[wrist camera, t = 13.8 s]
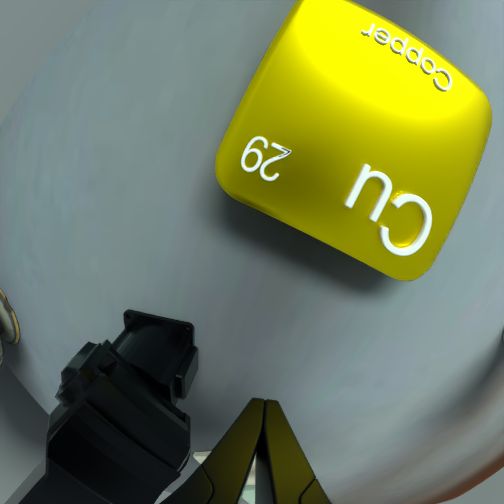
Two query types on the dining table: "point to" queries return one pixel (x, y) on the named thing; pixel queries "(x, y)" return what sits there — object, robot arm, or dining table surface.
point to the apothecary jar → (7, 325)
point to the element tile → (357, 137)
